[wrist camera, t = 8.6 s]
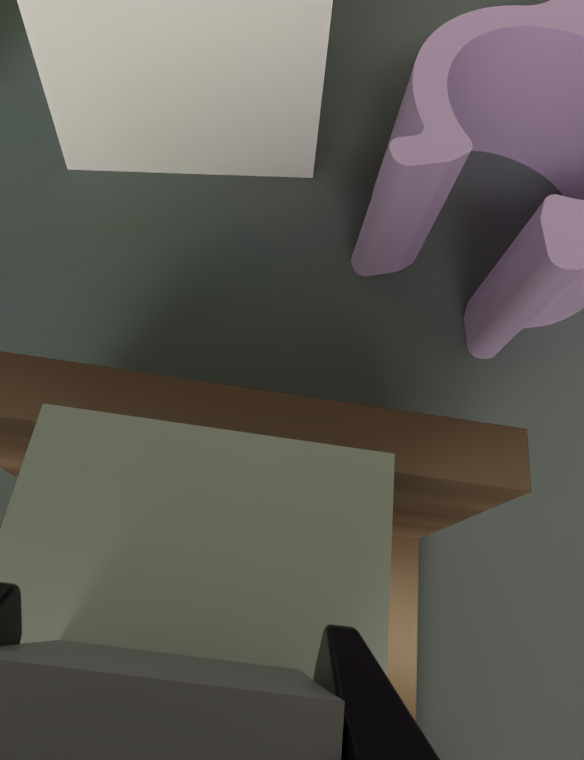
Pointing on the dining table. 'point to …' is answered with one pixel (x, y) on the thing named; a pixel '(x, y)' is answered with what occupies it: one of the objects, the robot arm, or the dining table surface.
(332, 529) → the sage cabinet
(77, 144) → the milk
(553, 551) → the dining table surface
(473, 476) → the cleat board
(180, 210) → the dining table surface
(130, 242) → the dining table surface
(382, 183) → the clip
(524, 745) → the dining table surface
